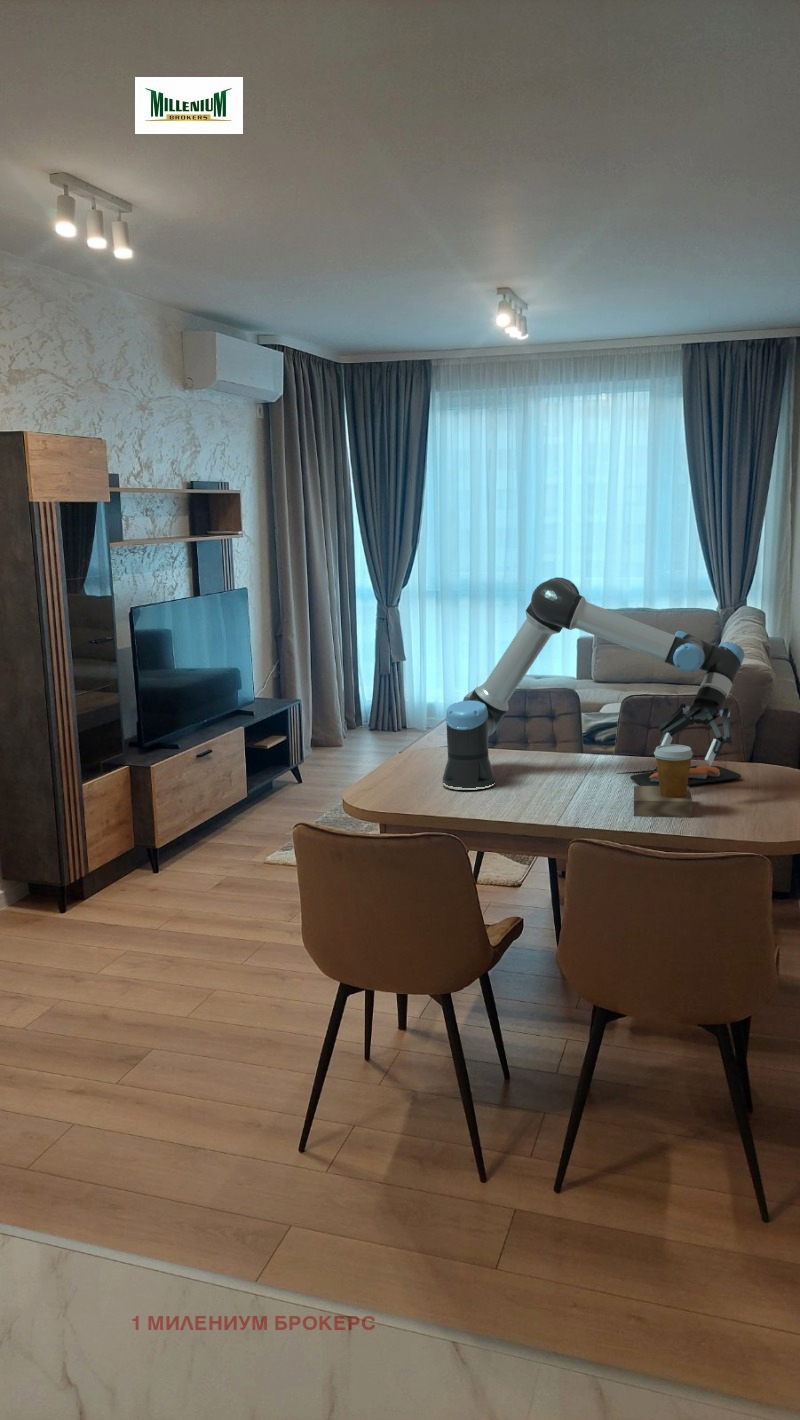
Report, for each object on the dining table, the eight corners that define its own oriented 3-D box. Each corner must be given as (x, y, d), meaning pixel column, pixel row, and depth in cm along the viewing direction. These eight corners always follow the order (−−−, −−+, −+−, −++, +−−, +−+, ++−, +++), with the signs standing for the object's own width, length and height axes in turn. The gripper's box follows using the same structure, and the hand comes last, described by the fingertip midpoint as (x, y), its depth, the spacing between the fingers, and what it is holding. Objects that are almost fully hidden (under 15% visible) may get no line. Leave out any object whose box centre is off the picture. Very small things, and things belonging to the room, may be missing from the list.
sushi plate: (652, 794, 267) (652, 780, 267) (600, 770, 296) (600, 757, 295) (745, 782, 275) (746, 769, 274) (686, 759, 303) (686, 747, 303)
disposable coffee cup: (688, 789, 254) (689, 743, 252) (696, 799, 245) (696, 752, 243) (650, 789, 255) (651, 744, 253) (656, 800, 246) (657, 753, 244)
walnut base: (633, 815, 247) (633, 800, 247) (633, 800, 261) (633, 785, 260) (692, 817, 244) (692, 801, 243) (689, 801, 257) (689, 786, 257)
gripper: (761, 706, 259) (733, 773, 251) (675, 697, 276) (646, 760, 269) (752, 689, 254) (723, 757, 247) (666, 681, 272) (636, 745, 264)
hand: (683, 759), depth 258 cm, fingers open, 13 cm apart
